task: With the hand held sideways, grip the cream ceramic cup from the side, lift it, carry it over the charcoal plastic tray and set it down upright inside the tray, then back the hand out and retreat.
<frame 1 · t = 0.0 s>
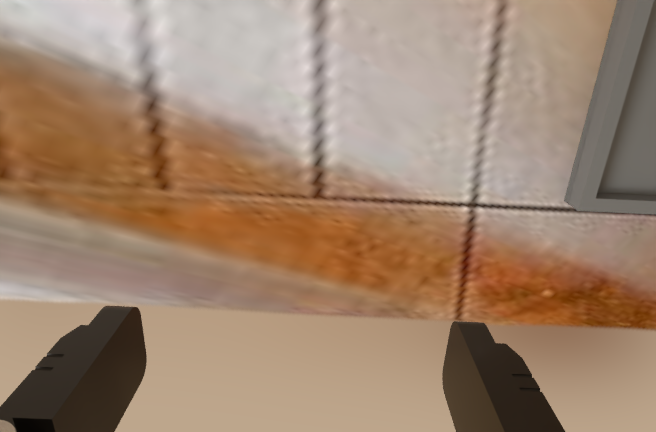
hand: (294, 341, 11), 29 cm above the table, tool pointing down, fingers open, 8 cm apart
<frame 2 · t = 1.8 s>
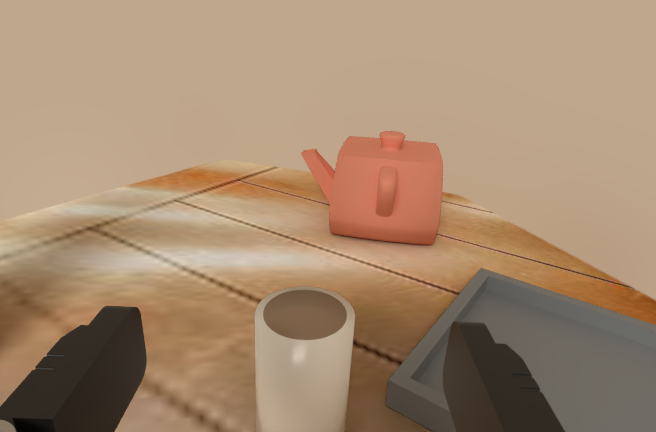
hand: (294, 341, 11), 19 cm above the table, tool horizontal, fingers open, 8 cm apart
charcoal tray: (564, 387, 37), on the table
teapot: (366, 225, 66), on the table
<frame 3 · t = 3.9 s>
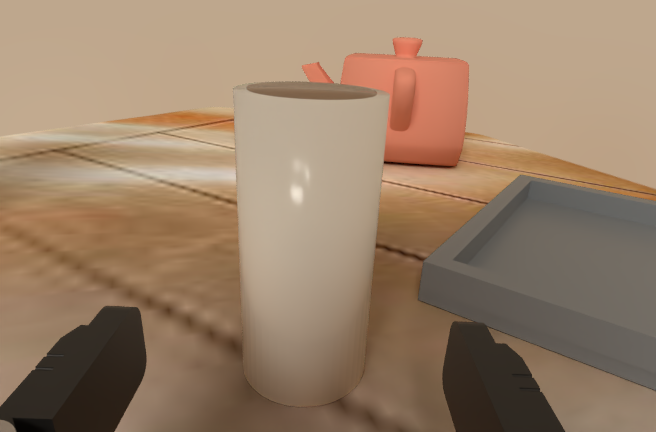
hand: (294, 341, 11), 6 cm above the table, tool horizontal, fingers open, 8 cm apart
charcoal tray: (650, 285, 28), on the table
cream cup: (304, 360, 20), on the table
teapot: (376, 153, 58), on the table
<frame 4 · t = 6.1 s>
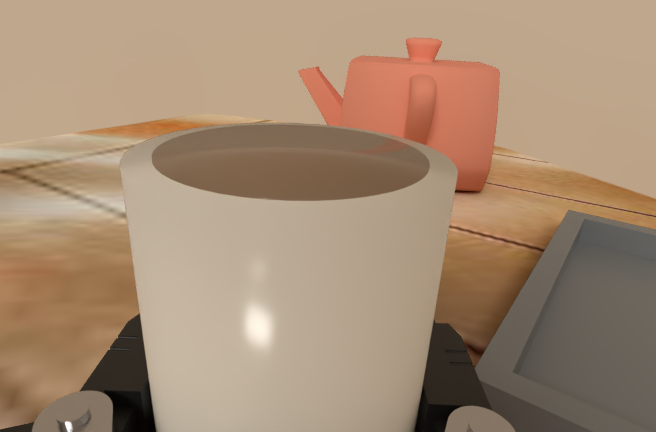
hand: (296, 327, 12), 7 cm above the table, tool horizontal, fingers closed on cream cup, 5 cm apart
teapot: (385, 173, 49), on the table
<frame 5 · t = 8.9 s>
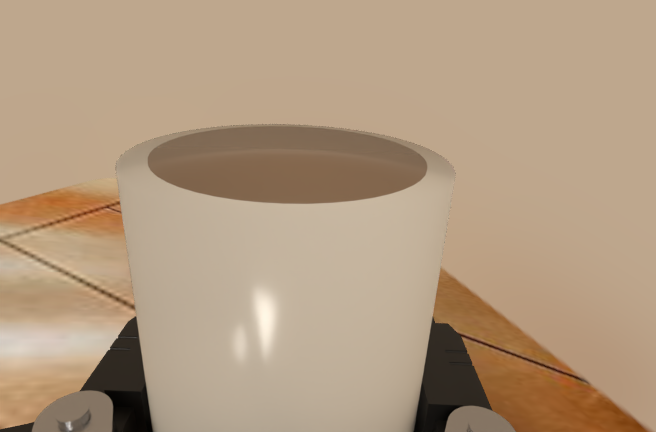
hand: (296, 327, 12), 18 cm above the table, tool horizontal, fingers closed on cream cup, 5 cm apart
when the fingers open (9 cm above the table, at t = 11.7 s): cream cup drops 1 cm, resting on charcoal tray.
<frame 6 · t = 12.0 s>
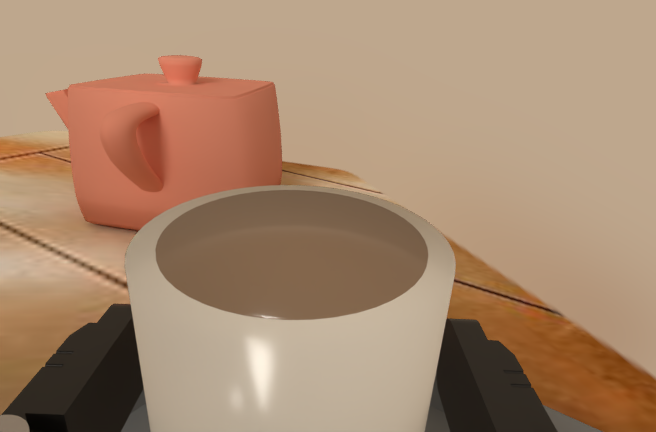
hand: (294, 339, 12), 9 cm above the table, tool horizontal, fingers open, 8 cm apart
teapot: (168, 210, 43), on the table
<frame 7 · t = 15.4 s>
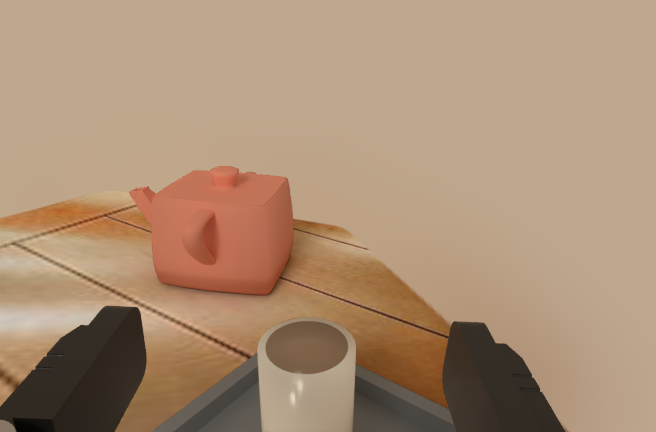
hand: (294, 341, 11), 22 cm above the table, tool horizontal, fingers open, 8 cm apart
teapot: (212, 269, 59), on the table
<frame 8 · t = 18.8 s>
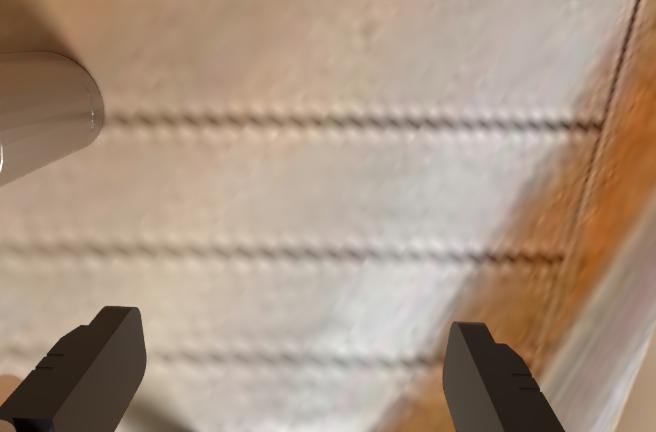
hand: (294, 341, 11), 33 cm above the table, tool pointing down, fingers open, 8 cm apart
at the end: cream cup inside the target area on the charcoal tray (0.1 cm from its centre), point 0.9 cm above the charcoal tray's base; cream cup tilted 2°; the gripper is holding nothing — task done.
